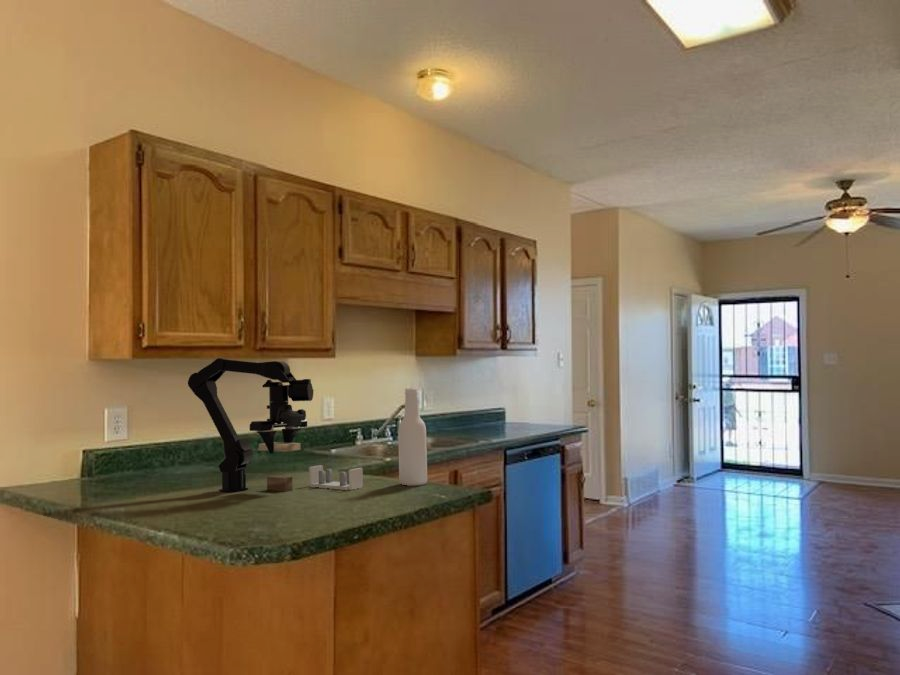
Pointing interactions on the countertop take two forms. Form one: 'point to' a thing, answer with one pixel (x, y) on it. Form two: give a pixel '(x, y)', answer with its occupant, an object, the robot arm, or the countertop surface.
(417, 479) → the alcohol
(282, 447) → the shelf board
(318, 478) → the peg frame
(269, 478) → the block
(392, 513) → the countertop surface
